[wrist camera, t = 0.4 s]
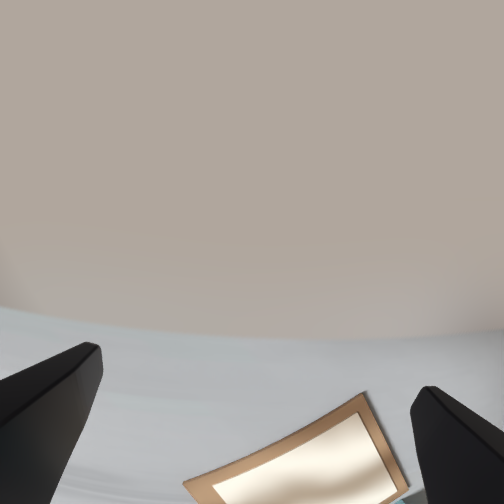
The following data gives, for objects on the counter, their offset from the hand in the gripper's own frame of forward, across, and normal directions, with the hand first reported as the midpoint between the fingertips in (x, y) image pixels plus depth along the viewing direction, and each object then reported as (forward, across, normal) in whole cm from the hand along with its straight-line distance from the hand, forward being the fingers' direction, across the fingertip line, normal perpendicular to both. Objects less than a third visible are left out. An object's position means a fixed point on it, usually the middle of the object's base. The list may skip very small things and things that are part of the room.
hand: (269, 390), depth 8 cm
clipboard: (+6, -7, +18) cm, 20 cm away
